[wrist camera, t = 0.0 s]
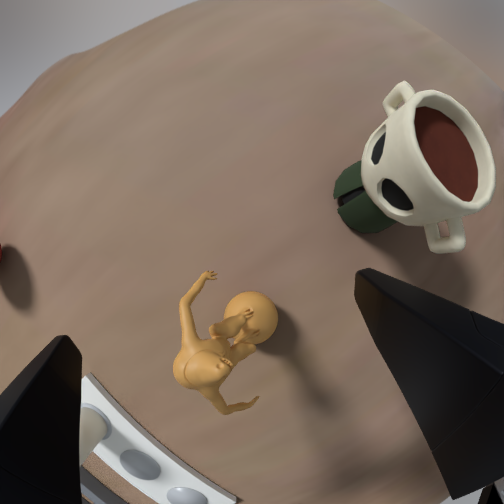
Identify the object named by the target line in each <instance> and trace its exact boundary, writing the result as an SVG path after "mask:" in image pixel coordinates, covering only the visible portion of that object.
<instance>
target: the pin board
mask: <svg viewBox="0 0 504 504" xmlns="http://www.w3.org/2000/svg"><path fill="white" fill-rule="evenodd" d="M80 482H81V493H83V494H84V495H85V496H86V497H88V498H89V499H90V500H91V501H93V502H94V504H128V503H126V502H125V501H124V500H122V499H121V498H120V497H118V496H117V495H116V494H114V493H113V492H112V491H110V490H109V489H108V488H107V487H105V486H104V485H103V484H102V483H100V482H99V481H98V480H97V479H96V478H95V477H93V476H92V475H91V474H90V473H89V472H88V471H87V470H85V469H84V468H83V467H82V466H80ZM82 504H90V503H89V502H88V501H86V500H85V499H84V498H83V497H82Z"/></svg>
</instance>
